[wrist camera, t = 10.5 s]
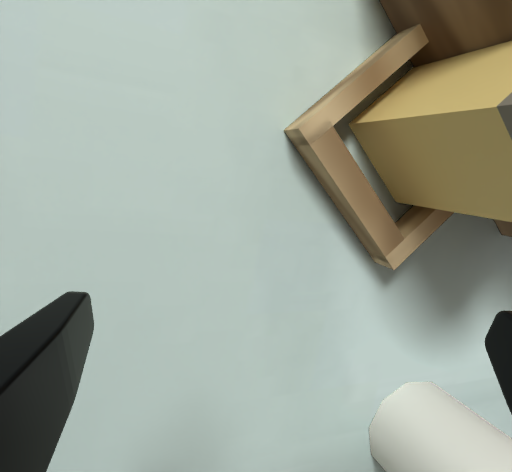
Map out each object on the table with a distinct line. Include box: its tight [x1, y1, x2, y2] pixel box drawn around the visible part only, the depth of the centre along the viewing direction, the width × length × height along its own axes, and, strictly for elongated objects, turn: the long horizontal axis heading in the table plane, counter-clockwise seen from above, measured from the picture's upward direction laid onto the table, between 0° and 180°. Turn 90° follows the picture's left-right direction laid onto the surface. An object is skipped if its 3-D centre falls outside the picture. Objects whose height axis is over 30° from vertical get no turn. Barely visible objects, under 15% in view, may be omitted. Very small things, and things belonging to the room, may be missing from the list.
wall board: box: [284, 0, 512, 270], centre depth 20 cm, size 10×20×8 cm, turn 39°
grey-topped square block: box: [348, 41, 512, 222], centre depth 19 cm, size 5×6×10 cm
